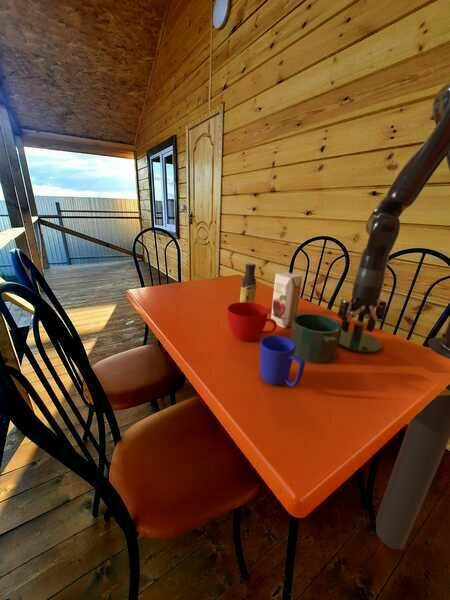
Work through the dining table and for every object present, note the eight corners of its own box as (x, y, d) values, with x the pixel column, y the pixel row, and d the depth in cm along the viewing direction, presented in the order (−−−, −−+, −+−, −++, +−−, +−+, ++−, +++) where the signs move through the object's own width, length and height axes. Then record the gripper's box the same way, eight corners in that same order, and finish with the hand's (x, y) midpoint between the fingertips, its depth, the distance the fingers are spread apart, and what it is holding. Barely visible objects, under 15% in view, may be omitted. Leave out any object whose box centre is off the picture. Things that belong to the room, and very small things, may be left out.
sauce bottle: (245, 314, 103) (248, 266, 97) (236, 309, 108) (238, 263, 101) (257, 311, 107) (261, 264, 100) (247, 306, 112) (250, 261, 105)
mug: (285, 403, 55) (291, 364, 52) (250, 375, 65) (253, 340, 62) (310, 390, 60) (316, 353, 57) (274, 365, 69) (278, 332, 66)
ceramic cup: (263, 355, 74) (266, 324, 71) (218, 337, 83) (219, 309, 80) (282, 339, 84) (286, 311, 80) (240, 325, 93) (241, 299, 90)
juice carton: (281, 317, 101) (286, 270, 95) (298, 325, 95) (305, 275, 88) (267, 321, 97) (272, 273, 91) (285, 330, 90) (291, 278, 84)
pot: (318, 335, 87) (322, 309, 84) (350, 367, 69) (357, 336, 66) (279, 336, 85) (282, 310, 82) (303, 370, 68) (308, 338, 65)
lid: (361, 331, 91) (365, 314, 89) (391, 353, 77) (397, 333, 75) (323, 333, 89) (326, 315, 87) (347, 355, 76) (351, 335, 73)
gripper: (354, 286, 72) (343, 337, 77) (399, 286, 74) (385, 336, 79) (339, 279, 79) (330, 326, 84) (381, 279, 81) (369, 325, 86)
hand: (357, 331), depth 82 cm, fingers open, 8 cm apart
